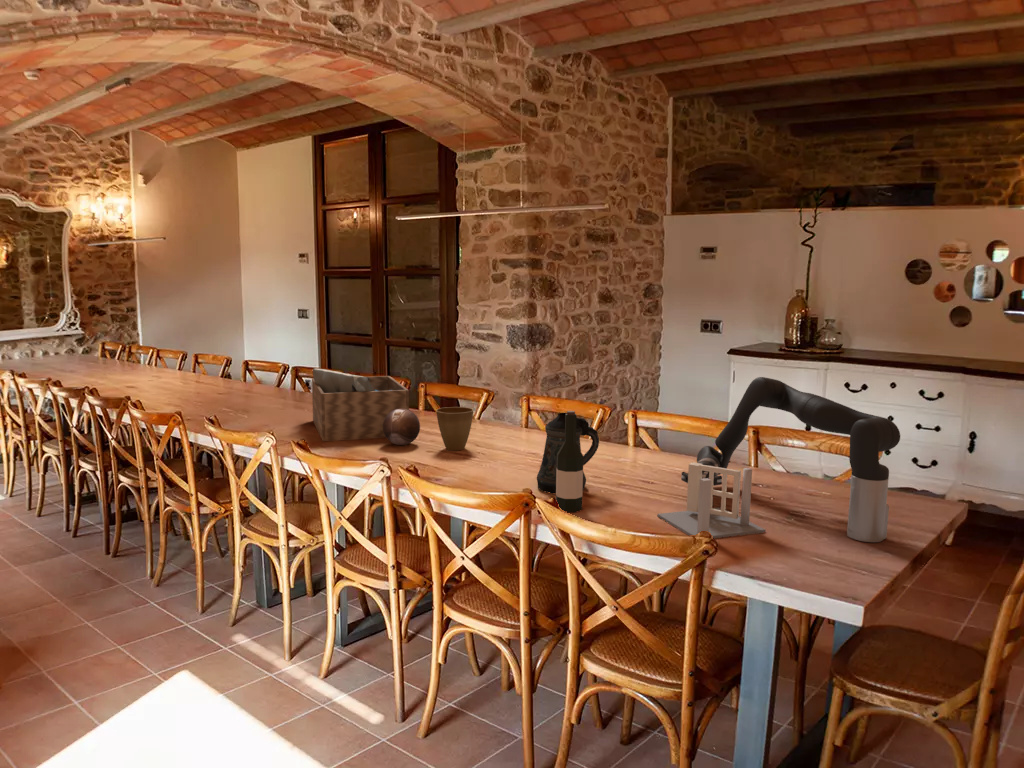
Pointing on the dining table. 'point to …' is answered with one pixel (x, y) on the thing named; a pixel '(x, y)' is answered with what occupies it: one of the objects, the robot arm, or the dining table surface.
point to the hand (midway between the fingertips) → (697, 485)
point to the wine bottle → (569, 469)
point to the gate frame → (715, 523)
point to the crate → (357, 410)
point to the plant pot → (455, 426)
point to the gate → (693, 489)
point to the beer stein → (553, 445)
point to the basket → (341, 382)
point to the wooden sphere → (401, 426)
